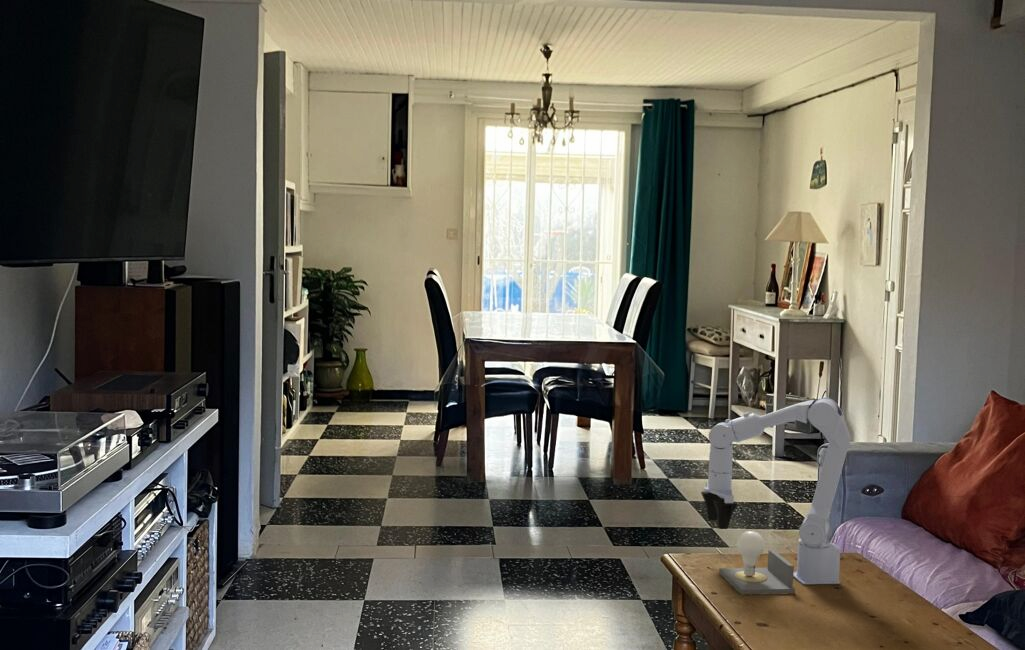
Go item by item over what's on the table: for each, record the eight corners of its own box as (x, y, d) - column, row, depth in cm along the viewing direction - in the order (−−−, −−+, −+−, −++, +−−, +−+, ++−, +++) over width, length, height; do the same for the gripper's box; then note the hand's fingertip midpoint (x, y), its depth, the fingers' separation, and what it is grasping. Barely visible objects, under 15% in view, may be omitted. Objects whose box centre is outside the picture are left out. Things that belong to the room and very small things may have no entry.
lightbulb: (763, 581, 231) (765, 536, 230) (735, 579, 232) (738, 533, 231) (762, 573, 237) (764, 528, 236) (735, 571, 238) (737, 526, 238)
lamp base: (770, 572, 243) (771, 547, 242) (795, 593, 228) (797, 567, 227) (719, 573, 241) (720, 548, 240) (741, 594, 226) (742, 568, 225)
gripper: (695, 464, 252) (693, 516, 253) (714, 477, 238) (712, 532, 239) (721, 464, 253) (719, 516, 254) (742, 477, 239) (740, 532, 240)
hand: (717, 524), depth 247 cm, fingers open, 7 cm apart
